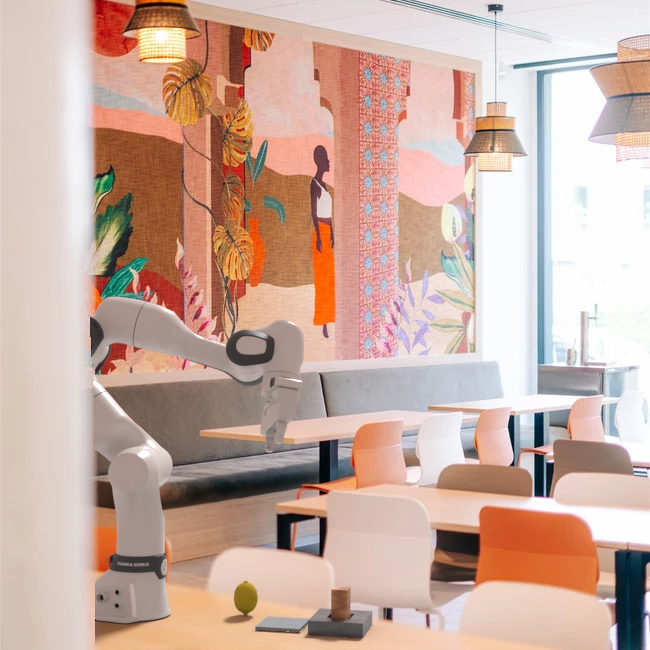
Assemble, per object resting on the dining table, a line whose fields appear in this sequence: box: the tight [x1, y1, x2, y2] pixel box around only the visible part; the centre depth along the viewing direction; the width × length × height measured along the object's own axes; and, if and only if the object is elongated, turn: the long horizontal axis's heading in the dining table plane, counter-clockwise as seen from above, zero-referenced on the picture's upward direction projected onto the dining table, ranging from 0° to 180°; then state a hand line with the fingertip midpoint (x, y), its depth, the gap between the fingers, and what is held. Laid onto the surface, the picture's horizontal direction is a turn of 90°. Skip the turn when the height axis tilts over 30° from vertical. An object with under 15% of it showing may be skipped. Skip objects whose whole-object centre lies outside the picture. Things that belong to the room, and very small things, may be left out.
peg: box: [330, 585, 351, 619], centre depth 233 cm, size 4×4×9 cm
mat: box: [254, 615, 310, 633], centre depth 236 cm, size 10×10×1 cm
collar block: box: [307, 607, 373, 639], centre depth 233 cm, size 12×12×3 cm
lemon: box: [233, 580, 259, 616], centre depth 246 cm, size 6×6×8 cm
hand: (273, 447), depth 241 cm, fingers open, 8 cm apart
